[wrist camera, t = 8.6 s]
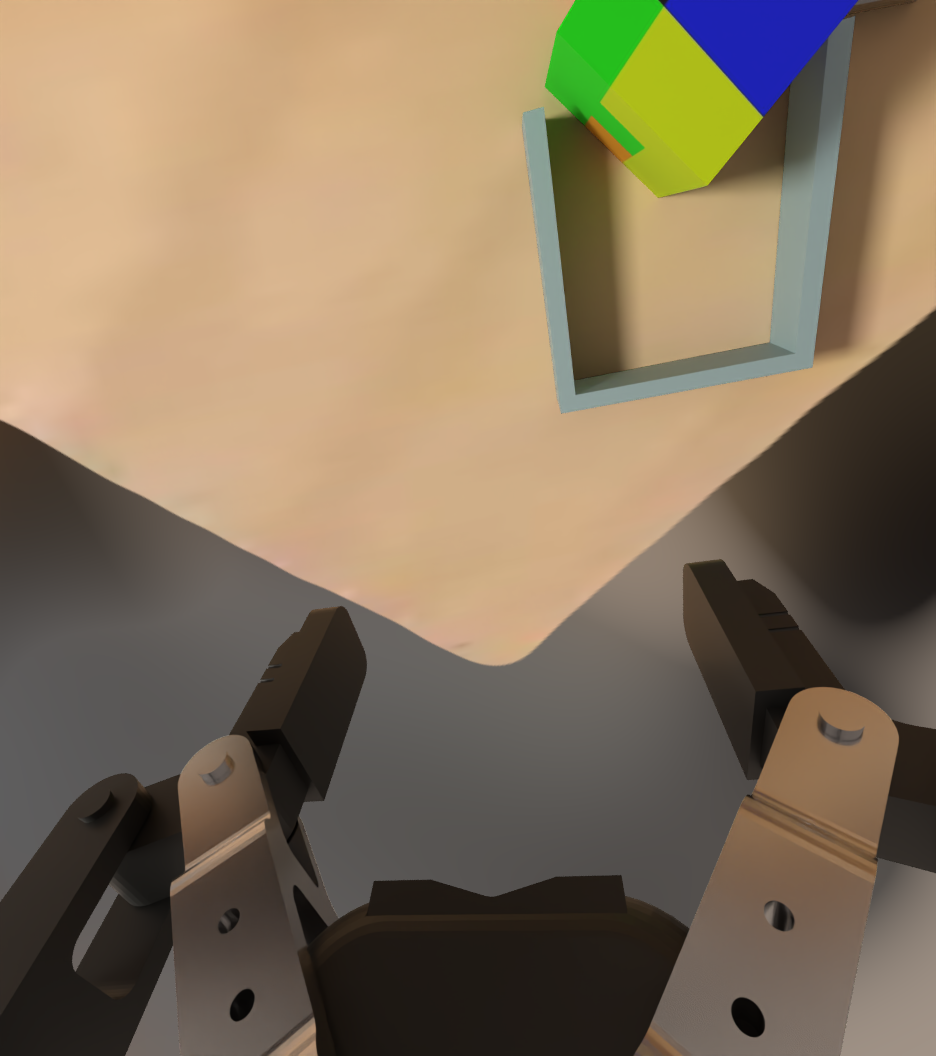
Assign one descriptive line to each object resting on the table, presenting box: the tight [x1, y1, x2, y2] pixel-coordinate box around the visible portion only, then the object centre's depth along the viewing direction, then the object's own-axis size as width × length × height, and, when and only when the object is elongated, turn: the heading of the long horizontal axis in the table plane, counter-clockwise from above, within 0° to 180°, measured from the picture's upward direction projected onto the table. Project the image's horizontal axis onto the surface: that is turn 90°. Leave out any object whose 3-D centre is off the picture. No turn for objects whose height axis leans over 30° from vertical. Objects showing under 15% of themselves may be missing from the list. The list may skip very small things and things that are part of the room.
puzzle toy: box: [545, 0, 858, 198], centre depth 26 cm, size 10×10×10 cm
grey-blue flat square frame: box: [522, 16, 855, 414], centre depth 34 cm, size 18×17×4 cm
